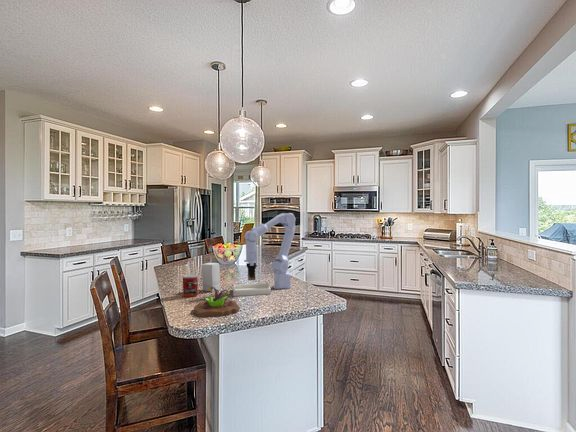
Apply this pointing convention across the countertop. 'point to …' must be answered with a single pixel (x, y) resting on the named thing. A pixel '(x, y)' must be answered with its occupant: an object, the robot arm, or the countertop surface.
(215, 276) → the skincare box
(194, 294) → the canned food
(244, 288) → the tray
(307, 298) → the countertop surface
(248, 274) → the walnut block
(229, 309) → the plant
